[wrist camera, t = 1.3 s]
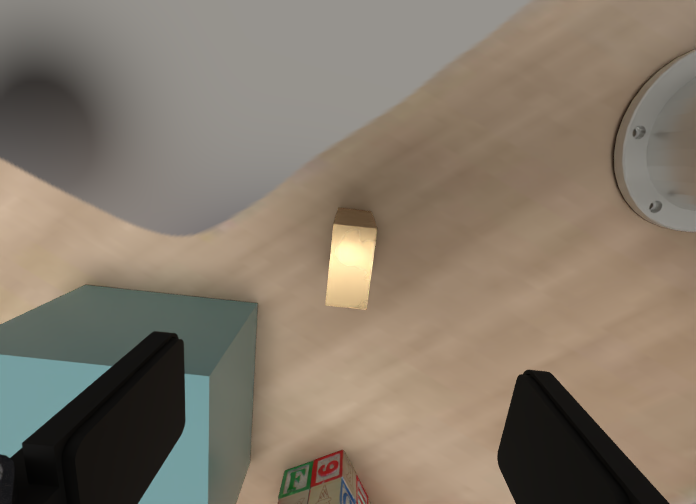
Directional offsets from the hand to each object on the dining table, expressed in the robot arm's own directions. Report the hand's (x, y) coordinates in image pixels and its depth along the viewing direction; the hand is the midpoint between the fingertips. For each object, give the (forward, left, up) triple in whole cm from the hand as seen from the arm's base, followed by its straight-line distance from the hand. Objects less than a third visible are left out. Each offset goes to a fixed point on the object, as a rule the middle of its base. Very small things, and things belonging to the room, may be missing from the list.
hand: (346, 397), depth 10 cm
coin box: (+14, +14, -18) cm, 27 cm away
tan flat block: (0, 0, -18) cm, 18 cm away
